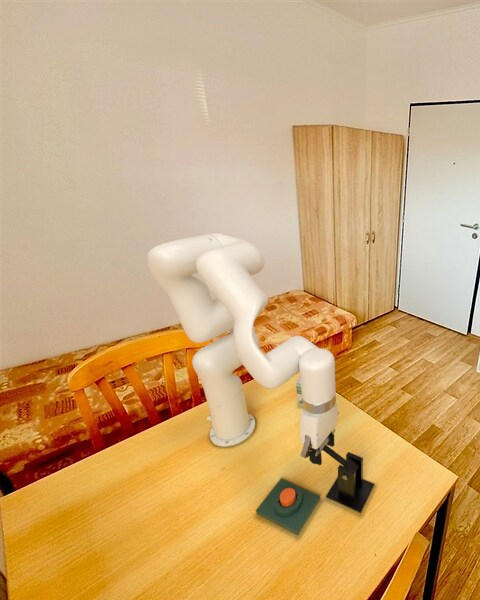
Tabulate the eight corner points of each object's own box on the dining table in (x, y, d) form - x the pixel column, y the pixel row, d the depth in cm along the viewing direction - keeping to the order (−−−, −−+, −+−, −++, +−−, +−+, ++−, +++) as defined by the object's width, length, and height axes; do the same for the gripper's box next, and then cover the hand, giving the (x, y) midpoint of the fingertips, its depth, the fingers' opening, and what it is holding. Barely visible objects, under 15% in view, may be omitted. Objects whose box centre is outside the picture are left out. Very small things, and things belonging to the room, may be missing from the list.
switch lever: (312, 454, 78) (315, 449, 77) (323, 438, 82) (326, 434, 81) (348, 481, 77) (352, 477, 76) (358, 464, 81) (361, 460, 80)
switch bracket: (326, 499, 81) (324, 468, 76) (342, 472, 88) (341, 443, 83) (360, 515, 78) (361, 484, 73) (374, 486, 85) (375, 456, 80)
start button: (277, 503, 76) (276, 498, 75) (287, 490, 79) (286, 485, 78) (289, 509, 75) (288, 504, 74) (299, 495, 78) (298, 491, 77)
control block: (256, 515, 77) (254, 505, 75) (281, 483, 84) (280, 473, 83) (298, 537, 73) (296, 527, 71) (320, 501, 81) (319, 491, 79)
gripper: (325, 373, 81) (328, 424, 89) (280, 420, 67) (288, 476, 75) (351, 381, 79) (351, 433, 87) (310, 431, 65) (315, 488, 72)
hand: (322, 452), depth 81 cm, fingers closed on switch lever, 5 cm apart
